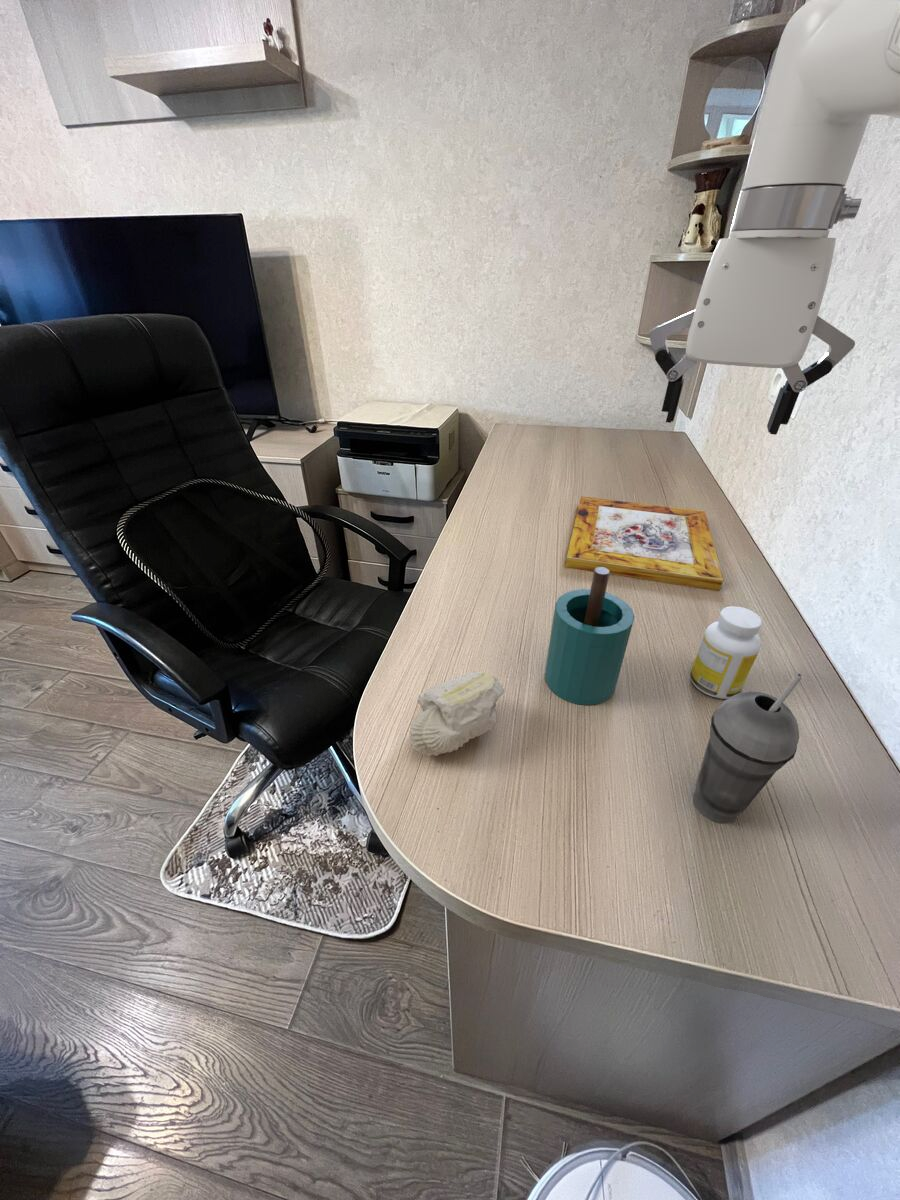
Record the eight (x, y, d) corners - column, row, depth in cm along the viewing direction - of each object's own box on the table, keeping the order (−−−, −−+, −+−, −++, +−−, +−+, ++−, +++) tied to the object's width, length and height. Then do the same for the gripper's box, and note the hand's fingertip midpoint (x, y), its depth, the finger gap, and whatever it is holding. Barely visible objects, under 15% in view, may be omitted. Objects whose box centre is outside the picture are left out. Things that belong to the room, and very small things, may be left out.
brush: (601, 669, 70) (625, 565, 61) (594, 692, 67) (619, 585, 57) (567, 660, 72) (586, 557, 62) (558, 681, 68) (577, 575, 59)
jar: (620, 668, 72) (639, 599, 65) (608, 714, 64) (627, 642, 58) (555, 650, 75) (565, 582, 68) (536, 691, 68) (546, 621, 61)
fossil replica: (392, 749, 60) (465, 789, 56) (389, 707, 54) (470, 748, 51) (442, 682, 68) (509, 714, 65) (444, 639, 63) (517, 671, 59)
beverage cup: (715, 767, 58) (781, 631, 46) (769, 822, 52) (859, 683, 41) (665, 787, 56) (721, 649, 44) (715, 846, 50) (794, 706, 39)
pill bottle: (742, 679, 70) (773, 611, 63) (736, 708, 65) (769, 639, 59) (693, 662, 73) (717, 596, 66) (684, 689, 68) (709, 621, 62)
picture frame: (705, 511, 111) (723, 580, 87) (702, 520, 112) (719, 590, 88) (580, 496, 117) (566, 557, 94) (579, 504, 118) (565, 566, 95)
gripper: (895, 218, 42) (810, 426, 52) (676, 222, 48) (637, 407, 58) (921, 212, 36) (820, 446, 46) (669, 217, 42) (628, 424, 52)
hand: (719, 425), depth 52 cm, fingers open, 9 cm apart
